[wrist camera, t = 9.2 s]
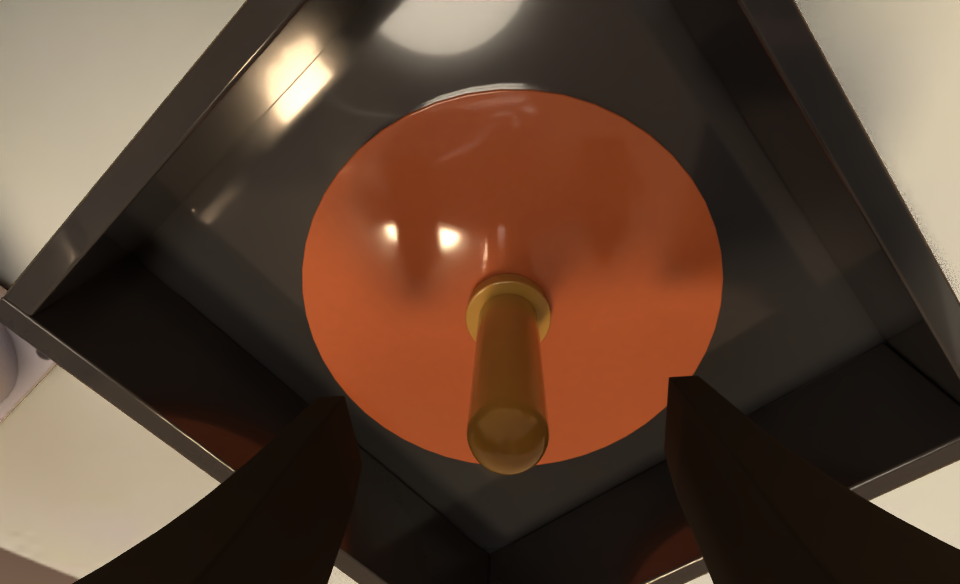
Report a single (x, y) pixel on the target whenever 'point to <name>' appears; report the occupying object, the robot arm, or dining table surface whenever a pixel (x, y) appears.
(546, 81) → the tray
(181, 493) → the dining table surface
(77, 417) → the dining table surface
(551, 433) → the orange round pegged disc
